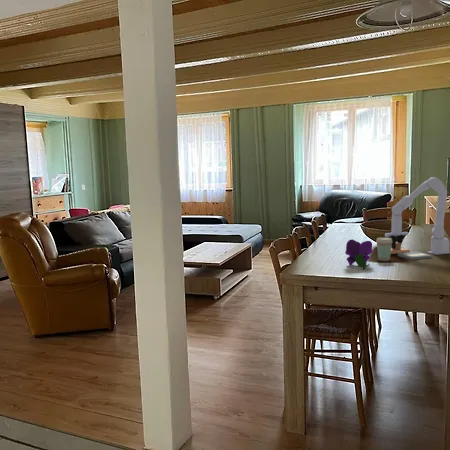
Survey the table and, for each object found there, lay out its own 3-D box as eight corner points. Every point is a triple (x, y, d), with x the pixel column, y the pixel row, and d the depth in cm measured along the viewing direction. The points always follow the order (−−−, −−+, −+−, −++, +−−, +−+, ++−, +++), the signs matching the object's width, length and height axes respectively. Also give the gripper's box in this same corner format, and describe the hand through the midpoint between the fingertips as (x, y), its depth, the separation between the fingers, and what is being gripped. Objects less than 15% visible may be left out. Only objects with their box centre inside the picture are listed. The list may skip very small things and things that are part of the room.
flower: (377, 277, 238) (369, 260, 249) (382, 254, 230) (374, 238, 241) (348, 278, 238) (342, 261, 249) (353, 256, 229) (346, 239, 240)
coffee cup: (391, 258, 259) (391, 237, 257) (392, 261, 251) (393, 239, 249) (375, 258, 261) (375, 237, 260) (376, 261, 253) (376, 239, 252)
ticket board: (417, 254, 268) (417, 251, 268) (431, 258, 257) (431, 255, 257) (397, 256, 265) (397, 253, 265) (411, 259, 253) (411, 257, 253)
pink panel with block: (401, 249, 282) (401, 240, 282) (410, 252, 275) (410, 242, 274) (382, 251, 279) (383, 242, 278) (390, 253, 271) (391, 244, 271)
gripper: (403, 223, 281) (402, 245, 282) (381, 225, 277) (381, 247, 279) (410, 225, 274) (410, 247, 276) (388, 226, 270) (388, 249, 272)
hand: (396, 248), depth 277 cm, fingers closed on pink panel with block, 3 cm apart
